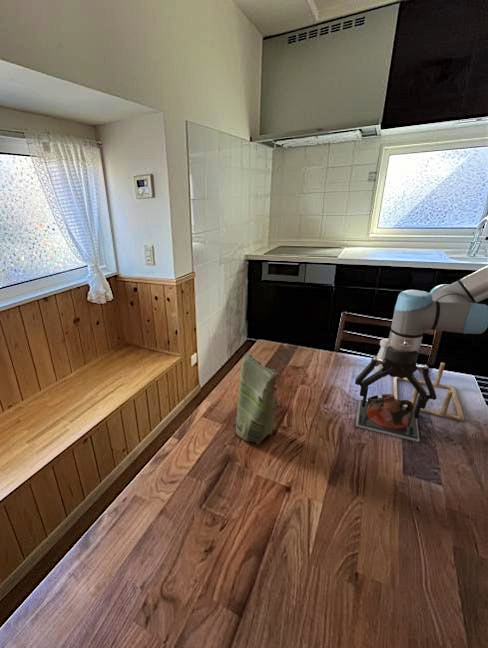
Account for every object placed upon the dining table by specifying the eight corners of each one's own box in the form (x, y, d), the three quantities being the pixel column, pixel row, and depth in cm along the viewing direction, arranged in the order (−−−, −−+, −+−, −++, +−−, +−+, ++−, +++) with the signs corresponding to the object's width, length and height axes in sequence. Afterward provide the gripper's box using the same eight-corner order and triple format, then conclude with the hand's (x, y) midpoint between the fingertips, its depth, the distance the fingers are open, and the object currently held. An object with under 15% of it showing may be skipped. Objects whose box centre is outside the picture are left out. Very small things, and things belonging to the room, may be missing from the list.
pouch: (239, 418, 107) (239, 348, 97) (277, 424, 103) (282, 352, 93) (231, 441, 98) (231, 367, 87) (273, 449, 94) (278, 372, 83)
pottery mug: (377, 429, 97) (369, 401, 98) (367, 422, 106) (360, 397, 107) (422, 422, 95) (414, 393, 95) (409, 415, 104) (401, 389, 104)
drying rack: (453, 388, 115) (461, 365, 111) (463, 421, 100) (472, 396, 96) (393, 377, 123) (398, 355, 119) (393, 406, 108) (399, 382, 104)
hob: (416, 413, 104) (417, 410, 103) (419, 442, 93) (420, 438, 92) (358, 401, 111) (359, 397, 111) (355, 426, 100) (356, 423, 100)
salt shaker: (393, 371, 126) (400, 340, 121) (383, 376, 124) (390, 345, 119) (378, 365, 131) (384, 335, 126) (369, 370, 129) (375, 339, 123)
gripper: (351, 345, 95) (342, 406, 103) (462, 361, 83) (441, 429, 92) (354, 334, 101) (344, 394, 109) (457, 348, 89) (438, 413, 98)
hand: (388, 410), depth 101 cm, fingers open, 13 cm apart
